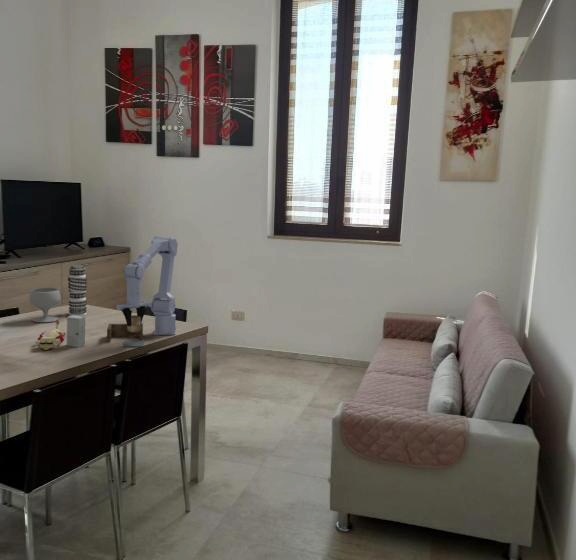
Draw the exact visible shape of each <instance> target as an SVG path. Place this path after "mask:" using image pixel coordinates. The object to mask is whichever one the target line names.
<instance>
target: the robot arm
mask: <svg viewBox="0 0 576 560" xmlns="http://www.w3.org/2000/svg"><path fill="white" fill-rule="evenodd" d="M178 245H179V244H178V241H177V239H176V238H175V237H173V236H172V237H171V236H157V235H155V236H154V237H153V238H152V239H151V245H150V246H149V247H148V249H147V250H146V251H145V252H144V253H140V254H139V255H138V256H137V257H136V258H135V259H134V261H132V263H129V264H127V265H126V266H125V267H124V270H123V275H124V277H125V282H126V302H125V303H121V304H116V310H117V311H121V313H122V314H123V316H124V319H125V321H126V324H127V326H131V316H132V313H133V311H132V310H131V309H135V310H136V315H137V316H139V317H141V323H142V322H143V318H144V316H145V314H146V312H147V309H148V308H150V309H151V312H153V314H154V329H153V335H154V336H158V335H159V336H160V335H161V336H163V335H165V336H167V335H176V330H177V326H176V314H175V309H176V298H175V296H173V294H172V293H171V290H172V289H171V288H172V280H173V272H174V265H175V264H174V263H175V257H176V256H177V253H178ZM157 254H158V255H159V256H161V258H162V260H161V261H162V262H161V267H160V268H161V269H160V276H159V277H160V278H159V285H158V292H157V293H155V294H154V295H153V296H152V300H151V301H142V278H144V276H145V272H146V270H147V268H148V267H149V266H150V265H151V264H152V258H154V257H155V256H156V255H157Z"/></svg>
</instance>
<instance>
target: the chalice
mask: <svg viewBox="0 0 576 560" xmlns="http://www.w3.org/2000/svg"><path fill="white" fill-rule="evenodd" d="M61 298H62V297H61V293H60V290H59V289H58V288H56V287H37V288H33V289H31V291H30V293H29V297H28V300H29V301H28V302H29V303H30V304H31V305H32V306H34V307H36V308H38V309H40V310H41V311H42V312H43V315H42V316H38V317H33V318H32V319H31V321H32V322H33V323H52V322H56V319H59V320H60V318H59V316H58V317H57V316H51V315H49V314H48V313H49V310H51V309H52V308H54V307H55V306H57V305H59V304H60V302H61V301H62V299H61Z"/></svg>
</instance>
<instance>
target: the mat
mask: <svg viewBox="0 0 576 560" xmlns="http://www.w3.org/2000/svg"><path fill="white" fill-rule="evenodd" d="M144 347H145V340H142V341H139V340H125V341H124V343H123V348H126V349H127V348H144Z"/></svg>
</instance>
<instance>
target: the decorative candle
mask: <svg viewBox="0 0 576 560" xmlns="http://www.w3.org/2000/svg"><path fill="white" fill-rule="evenodd" d="M86 270H87V268H85V267H84V265H82V264H81V265H80V264H73V265H71V266H70V268H68V271H69V273H68V276H67V281H68V283H67V284H68V287H67V288H68V293H69V298H68V299H69V300H68V303H69V304H68V306H69V307H68V313H69V316H72V315H76V316H83V317H84V316H86V315H88V314H87V311H88V310H87V309H88V307H87V305H88V304H87V297H86V293H87V285H86V284H88V282H87V281H88V278H87V279H86Z"/></svg>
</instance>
